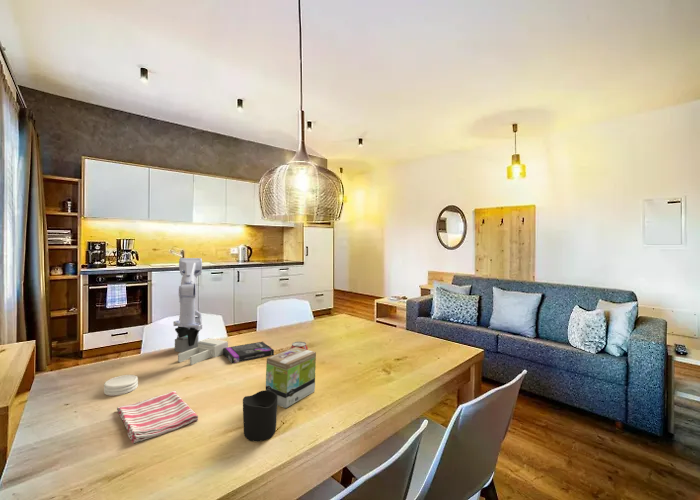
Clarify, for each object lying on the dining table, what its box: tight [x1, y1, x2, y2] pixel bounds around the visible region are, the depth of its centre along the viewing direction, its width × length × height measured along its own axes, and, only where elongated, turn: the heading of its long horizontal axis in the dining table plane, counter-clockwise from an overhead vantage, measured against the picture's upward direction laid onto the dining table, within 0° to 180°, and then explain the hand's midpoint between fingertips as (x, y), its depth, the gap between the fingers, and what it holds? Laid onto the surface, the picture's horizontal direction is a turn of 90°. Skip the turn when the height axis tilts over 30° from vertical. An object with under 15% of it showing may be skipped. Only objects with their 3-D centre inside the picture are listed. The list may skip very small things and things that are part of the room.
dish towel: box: [116, 390, 199, 444], centre depth 100 cm, size 17×23×4 cm
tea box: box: [265, 347, 317, 409], centre depth 114 cm, size 15×10×15 cm, turn 148°
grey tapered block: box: [174, 335, 198, 353], centre depth 139 cm, size 4×8×6 cm, turn 157°
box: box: [222, 341, 275, 364], centre depth 154 cm, size 14×4×20 cm
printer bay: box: [177, 337, 229, 366], centre depth 150 cm, size 12×19×5 cm, turn 157°
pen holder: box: [242, 389, 278, 443], centre depth 93 cm, size 9×9×10 cm
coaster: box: [103, 374, 139, 397], centre depth 117 cm, size 10×10×4 cm
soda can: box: [289, 341, 309, 350], centre depth 134 cm, size 7×7×12 cm
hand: (187, 344), depth 140 cm, fingers closed on grey tapered block, 4 cm apart
